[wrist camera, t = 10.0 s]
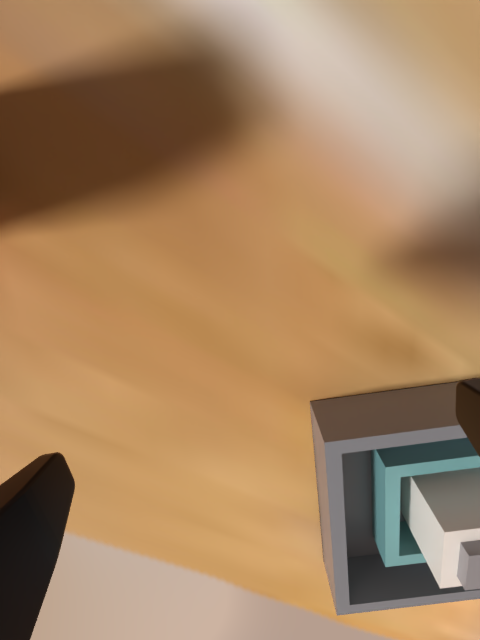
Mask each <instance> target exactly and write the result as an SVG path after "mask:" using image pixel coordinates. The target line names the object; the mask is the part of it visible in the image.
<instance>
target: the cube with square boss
mask: <svg viewBox="0 0 480 640" xmlns="http://www.w3.org/2000/svg"><path fill="white" fill-rule="evenodd" d="M401 512H402V514H403V516H404V518H405V520H406V522H407V524H408V526H409V528H410V530H411V532H412V534H413V536H414V538H415V540H416V542H417V544H418V546H419V548H420V550H421V552H422V554H423V556H424V558H425V560H426V562H427V564H428V566H429V568H430V570H431V572H432V574H433V576H434V578H435V580H436V581H437V583H438V585H439V587H440V589H441V588H449V587H458V586H463V588H464V590H473V589H480V467H478V468H470V469H462V470H454V471H446V472H438V473H431V474H423V475H415V476H407V477H401Z"/></svg>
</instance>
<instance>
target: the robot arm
mask: <svg viewBox="0 0 480 640" xmlns="http://www.w3.org/2000/svg"><path fill="white" fill-rule="evenodd" d="M455 413H456V418H457V421H458V423H459V425H460V426H461V428H462V429H463V431H464V433H465V434H466V436H467V438H468V439H469V441H470V442H471V444H472V446H473V447H474V449H475V451H476V452H477V454H478V455H479V457H480V378H472V379H467V380H461V381H459V382H458V383H457V385H456V407H455ZM74 489H75V482H74V478H73V476H72V474H71V472H70V469H69V467H68V465H67V463H66V460H65V458H64V456H63V455H62V454H61V453H58V452H56V453H50V454H45V455H41V456H39V457H38V458H37V459H35V460H34V461H33V462H31V463H30V464H28V465H27V466H26V467H24V468H23V469H22V470H20V471H19V472H18V473H16V474H15V475H13V476H12V477H11V478H9V479H8V480H7V481H5V482H4V483H3V484H1V485H0V640H30V638H31V635H32V632H33V629H34V626H35V623H36V621H37V618H38V615H39V612H40V609H41V606H42V603H43V600H44V597H45V594H46V592H47V588H48V586H49V583H50V579H51V577H52V574H53V571H54V568H55V565H56V562H57V558H58V555H59V551H60V548H61V544H62V540H63V536H64V531H65V527H66V523H67V519H68V515H69V511H70V507H71V502H72V498H73V494H74Z"/></svg>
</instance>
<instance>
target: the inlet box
mask: <svg viewBox="0 0 480 640" xmlns="http://www.w3.org/2000/svg"><path fill="white" fill-rule="evenodd" d="M457 383H458V382H452V383H445V384H437V385H430V386H422V387H415V388H407V389H400V390H392V391H385V392H378V393H370V394H363V395H355V396H348V397H340V398H333V399H325V400H318V401H310V409H311V420H312V432H313V443H314V455H315V467H316V478H317V490H318V501H319V513H320V525H321V536H322V548H323V560H324V564H325V568H326V572H327V576H328V581H329V585H330V589H331V593H332V597H333V601H334V605H335V610H336V614H337V615H344V614H353V613H362V612H370V611H379V610H387V609H396V608H404V607H413V606H421V605H430V604H438V603H447V602H455V601H464V600H472V599H480V589H473V590H464V588H463V586H458V587H449V588H441V589H440V587H439V585H438V583H437V581H436V580H435V578H434V576H433V574H432V572H431V570H430V568H429V566H428V564H427V562H426V560H425V558H424V556H423V554H422V552H421V550H420V548H419V546H418V544H417V542H416V540H415V538H414V536H413V534H412V532H411V530H410V528H409V526H408V524H407V522H406V520H405V518H404V516H403V514H402V512H401V477H407V476H415V475H423V474H431V473H438V472H446V471H454V470H462V469H470V468H478V467H480V457H479V455H478V454H477V452H476V451H475V449H474V447H473V446H472V444H471V442H470V441H469V439H468V438H467V436H466V434H465V433H464V431H463V429H462V428H461V426H460V425H459V423H458V421H457V418H456V413H455V407H456V385H457Z"/></svg>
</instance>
